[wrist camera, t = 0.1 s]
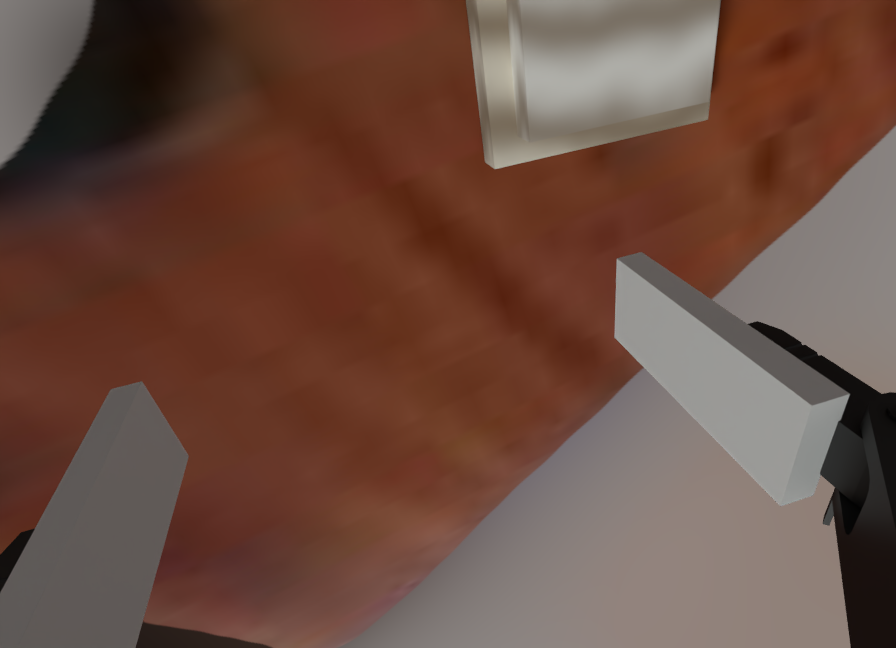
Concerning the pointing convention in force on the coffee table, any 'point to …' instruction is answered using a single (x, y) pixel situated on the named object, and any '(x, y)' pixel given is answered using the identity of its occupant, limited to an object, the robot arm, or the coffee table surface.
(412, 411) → the coffee table surface
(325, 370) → the coffee table surface
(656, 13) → the plinth
